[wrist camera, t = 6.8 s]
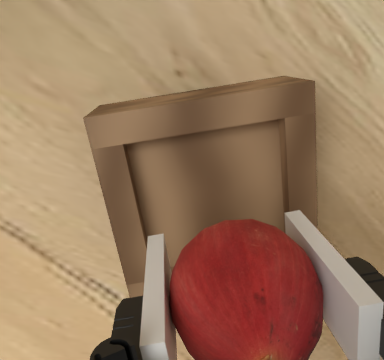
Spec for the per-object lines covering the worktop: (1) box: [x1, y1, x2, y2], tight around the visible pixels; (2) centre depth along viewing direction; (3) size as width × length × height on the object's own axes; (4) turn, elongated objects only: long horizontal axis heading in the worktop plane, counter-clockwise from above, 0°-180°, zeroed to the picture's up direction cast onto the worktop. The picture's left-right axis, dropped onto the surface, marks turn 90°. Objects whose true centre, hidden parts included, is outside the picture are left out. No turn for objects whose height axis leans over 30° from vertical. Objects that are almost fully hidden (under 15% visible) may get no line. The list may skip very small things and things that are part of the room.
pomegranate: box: [170, 219, 323, 360], centre depth 13 cm, size 6×6×8 cm
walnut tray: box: [83, 76, 317, 298], centre depth 23 cm, size 13×13×5 cm
